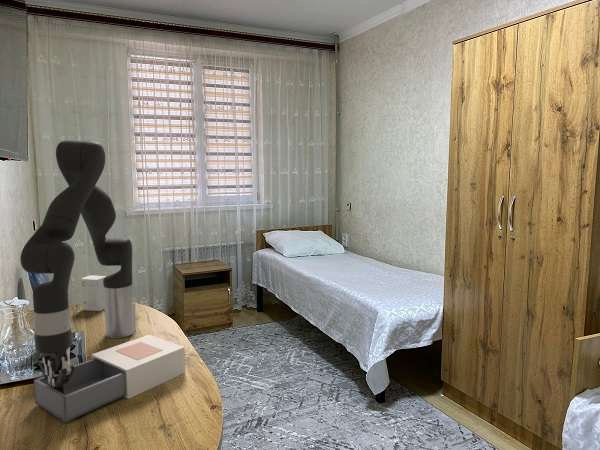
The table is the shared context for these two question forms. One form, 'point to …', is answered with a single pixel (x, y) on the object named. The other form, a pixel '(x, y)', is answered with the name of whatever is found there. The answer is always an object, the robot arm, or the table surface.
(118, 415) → the table surface
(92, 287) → the small box
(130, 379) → the mailer sleeve
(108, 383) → the tray
